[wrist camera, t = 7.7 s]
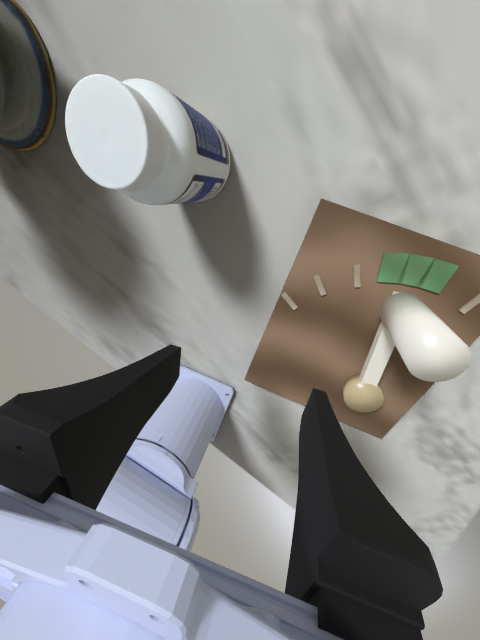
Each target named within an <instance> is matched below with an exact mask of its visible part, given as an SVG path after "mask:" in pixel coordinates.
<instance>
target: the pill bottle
mask: <svg viewBox="0 0 480 640" xmlns="http://www.w3.org/2000/svg"><path fill="white" fill-rule="evenodd" d="M65 127H66V134H67V138H68V142H69V145H70V148H71V151H72V153H73V155H74V157H75V159H76V161H77V163H78V164H79V166H80V167H81V169H82V170H83V171H84V172H85V174H86V175H87V176H88V177H89V178H90V179H92V180H93V181H94V182H96V183H97V184H99V185H100V186H102V187H105V188H108V189H112V190H121V191H122V192H123V193H124V194H125V195H127V196H128V197H130V198H131V199H133V200H135V201H138V202H140V203H144V204H149V205H165V204H179V203H193V202H202V201H206V200H209V199H211V198H213V197H214V196H216V195H217V194H218V193H219V192H220V191H221V190H222V188H223V187H224V185H225V184H226V181H227V178H228V175H229V171H230V151H229V147H228V144H227V141H226V139H225V137H224V135H223V133H222V132H221V131H220V129H219V128H218V127H217V126H216V125H215V124H214V123H213V122H212V121H210V120H209V119H208V118H206V117H205V116H203V115H202V114H200V113H199V112H197V111H196V110H195V109H193V108H192V107H190V106H189V105H188V104H186V103H185V102H183V101H182V100H181V99H179V98H178V97H176V96H175V95H174V94H172V93H171V92H170V91H168V90H167V89H165V88H163V87H162V86H160V85H158V84H156V83H154V82H152V81H149V80H145V79H129V80H125V81H123V82H120V81H118V80H117V79H115V78H113V77H110V76H107V75H102V74H94V75H89V76H87V77H84V78H83V79H81V80H80V81H79V82H78V83H77V84H76V85H75V87H74V88H73V89H72V91H71V93H70V95H69V98H68V101H67V105H66V112H65Z"/></svg>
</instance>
